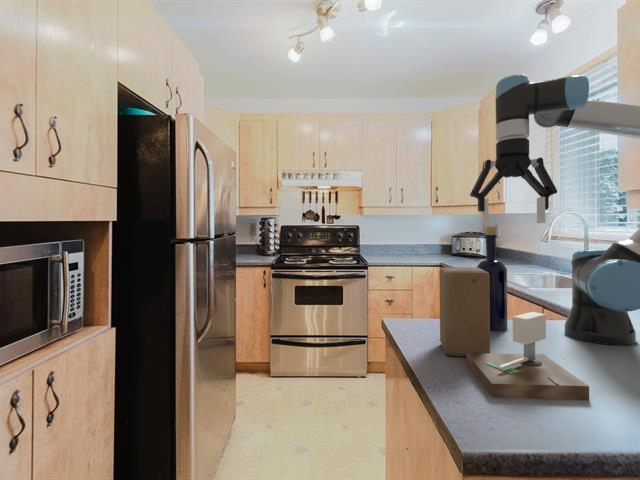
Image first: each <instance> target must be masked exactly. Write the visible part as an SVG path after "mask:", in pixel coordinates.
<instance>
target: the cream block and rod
mask: <svg viewBox="0 0 640 480" xmlns="http://www.w3.org/2000/svg"><path fill="white" fill-rule="evenodd" d="M546 316H547V315H546V314H545V313H540V312H536V311H535V312H534V311H529V312H527V313H521V314H517V315H514V316H512V342H515V343H518V344H523V354H524V357H523V358H520V359H517V360H514V361H512V362H509V363H506V364H503V365H500V366H498V369H501V370H503V369H506V368H509V367H511V366H514V365H517V364H519V363H522V362H525V361H528V360H530V361H534V360H535V354H536V343H537V342H539V341H540V342H541V341H543V340H546V338H547V333H546V332H547V319H546V318H547V317H546Z"/></svg>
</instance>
